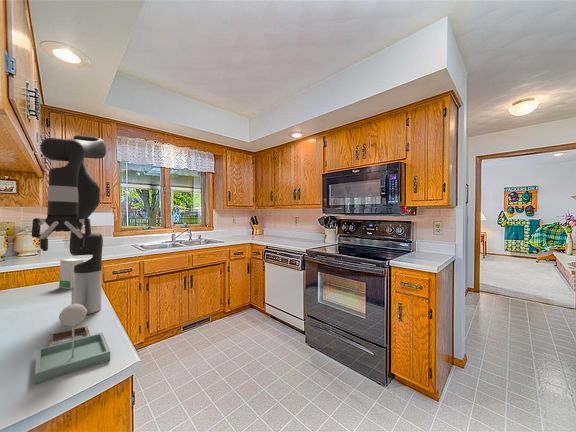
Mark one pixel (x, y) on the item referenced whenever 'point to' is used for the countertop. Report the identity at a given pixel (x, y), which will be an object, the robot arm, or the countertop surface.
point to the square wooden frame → (69, 334)
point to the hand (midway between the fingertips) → (62, 249)
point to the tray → (70, 357)
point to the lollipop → (73, 317)
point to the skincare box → (67, 272)
